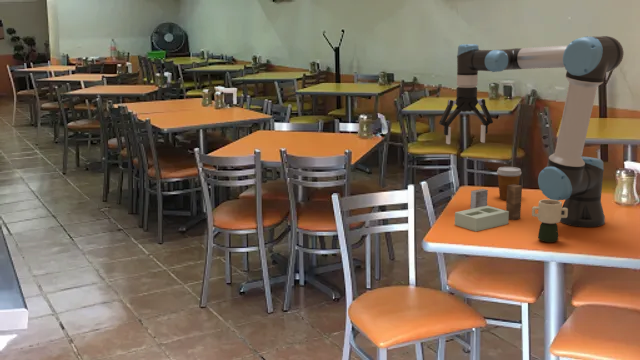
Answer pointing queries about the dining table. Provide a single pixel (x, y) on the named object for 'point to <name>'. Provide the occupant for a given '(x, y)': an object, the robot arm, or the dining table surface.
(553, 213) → the character mug
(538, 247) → the dining table surface
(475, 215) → the socket block
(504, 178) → the disposable coffee cup
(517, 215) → the walnut peg
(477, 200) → the grey upright tile
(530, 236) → the dining table surface
